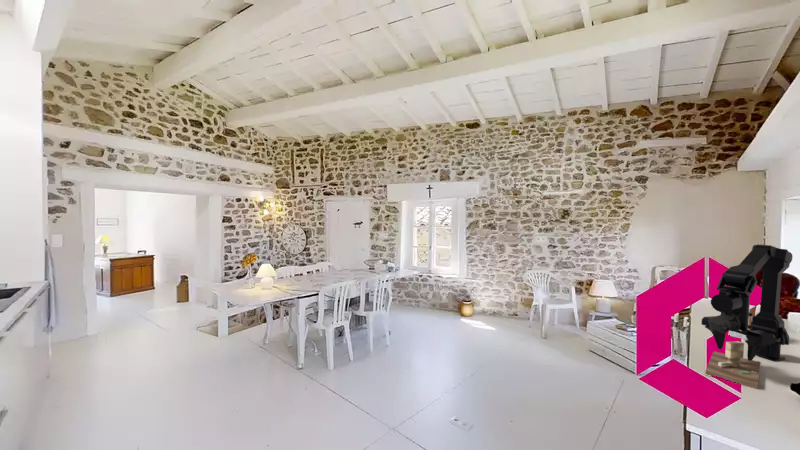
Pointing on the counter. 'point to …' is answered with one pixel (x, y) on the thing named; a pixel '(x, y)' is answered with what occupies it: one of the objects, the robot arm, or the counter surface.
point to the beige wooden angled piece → (733, 354)
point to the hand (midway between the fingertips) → (734, 354)
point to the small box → (751, 310)
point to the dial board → (735, 370)
